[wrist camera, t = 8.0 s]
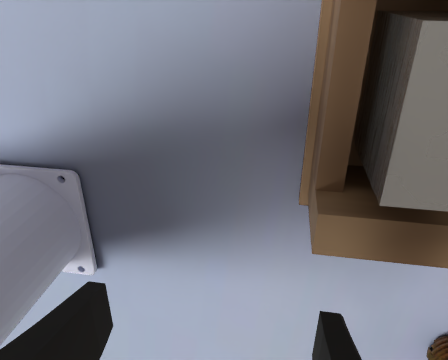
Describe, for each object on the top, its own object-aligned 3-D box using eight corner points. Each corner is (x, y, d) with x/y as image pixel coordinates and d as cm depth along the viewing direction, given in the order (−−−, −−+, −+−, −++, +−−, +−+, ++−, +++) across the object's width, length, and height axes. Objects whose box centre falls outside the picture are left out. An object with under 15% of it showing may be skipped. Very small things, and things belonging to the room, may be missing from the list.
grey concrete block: (354, 143, 18) (379, 205, 13) (378, 10, 15) (423, 20, 10) (418, 147, 18) (471, 213, 12) (454, 11, 15) (542, 22, 10)
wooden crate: (298, 199, 21) (300, 263, 16) (333, -97, 15) (354, -142, 10) (442, 211, 20) (492, 284, 15) (545, -103, 13) (691, -156, 9)
